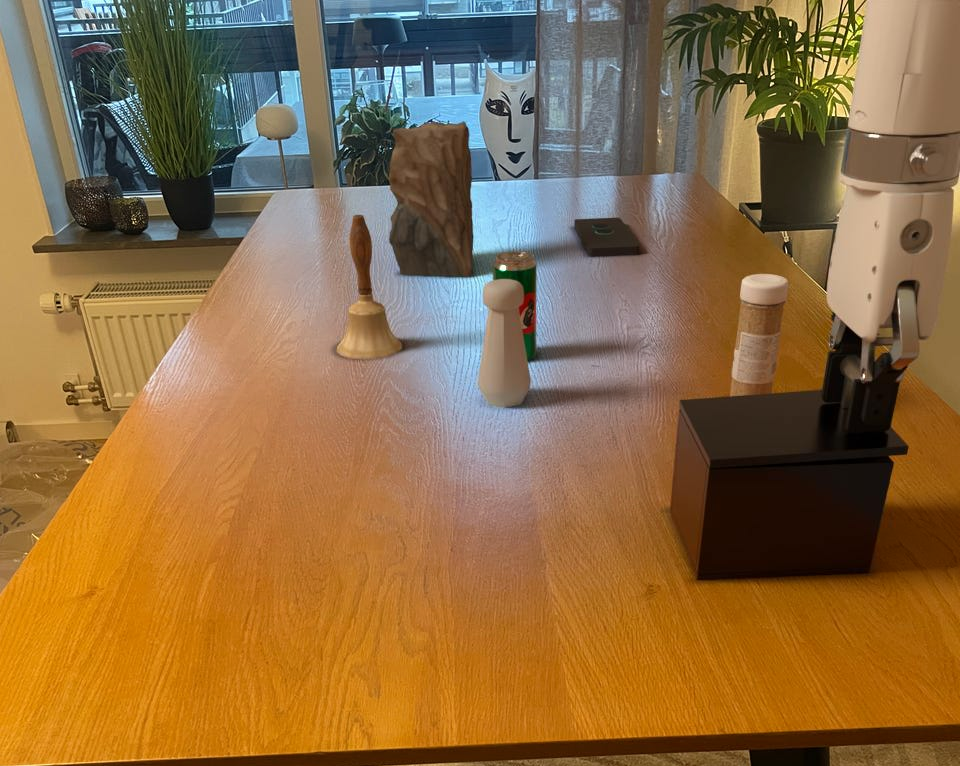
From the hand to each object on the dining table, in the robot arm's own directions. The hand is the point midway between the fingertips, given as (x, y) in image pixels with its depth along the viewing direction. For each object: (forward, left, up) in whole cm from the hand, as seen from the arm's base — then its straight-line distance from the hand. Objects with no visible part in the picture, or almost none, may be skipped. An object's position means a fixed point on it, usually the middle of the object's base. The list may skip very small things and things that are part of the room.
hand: (854, 412), depth 77 cm
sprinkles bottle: (0, -29, -11) cm, 31 cm away
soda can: (+24, -47, -11) cm, 54 cm away
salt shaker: (+26, -33, -11) cm, 43 cm away
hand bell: (+42, -52, -11) cm, 68 cm away
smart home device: (+6, -101, -11) cm, 102 cm away
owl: (+33, -87, -11) cm, 94 cm away
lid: (+5, 0, -1) cm, 5 cm away
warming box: (+6, 0, -11) cm, 13 cm away
